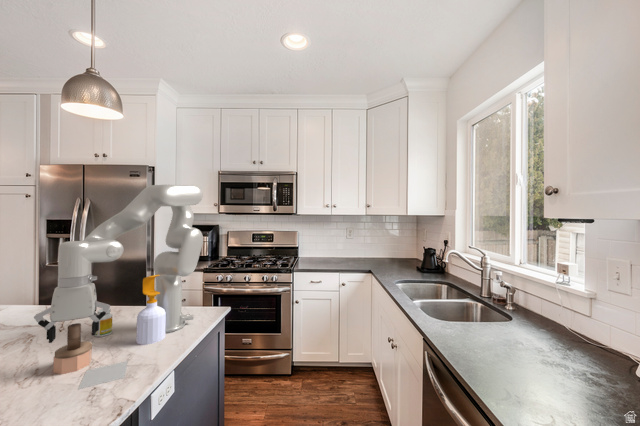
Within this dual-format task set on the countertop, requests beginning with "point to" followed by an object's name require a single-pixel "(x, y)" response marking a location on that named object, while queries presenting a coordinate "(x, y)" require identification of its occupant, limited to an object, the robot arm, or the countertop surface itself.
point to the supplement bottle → (104, 324)
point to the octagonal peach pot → (72, 363)
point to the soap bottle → (150, 316)
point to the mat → (103, 374)
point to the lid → (73, 343)
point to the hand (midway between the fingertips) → (73, 337)
